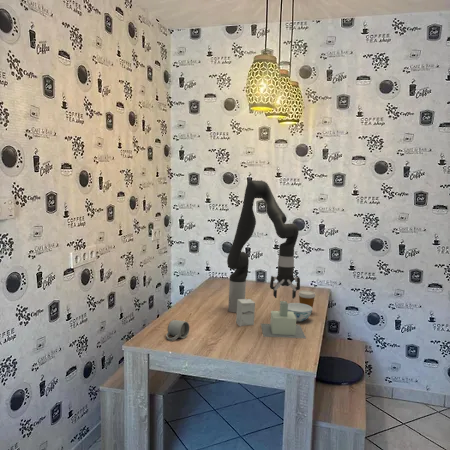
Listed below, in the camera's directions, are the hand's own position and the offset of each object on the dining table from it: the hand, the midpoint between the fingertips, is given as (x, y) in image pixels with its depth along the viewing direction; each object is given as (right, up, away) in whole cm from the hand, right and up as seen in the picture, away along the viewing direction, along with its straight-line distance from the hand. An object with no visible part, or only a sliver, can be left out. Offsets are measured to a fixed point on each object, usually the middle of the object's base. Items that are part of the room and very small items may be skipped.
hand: (284, 297), depth 210 cm
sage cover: (-1, -16, +2) cm, 17 cm away
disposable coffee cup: (+17, -15, +34) cm, 40 cm away
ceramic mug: (-51, -17, -9) cm, 55 cm away
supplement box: (-19, -16, +11) cm, 27 cm away
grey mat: (-1, -17, +2) cm, 17 cm away
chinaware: (+9, -16, +20) cm, 27 cm away
